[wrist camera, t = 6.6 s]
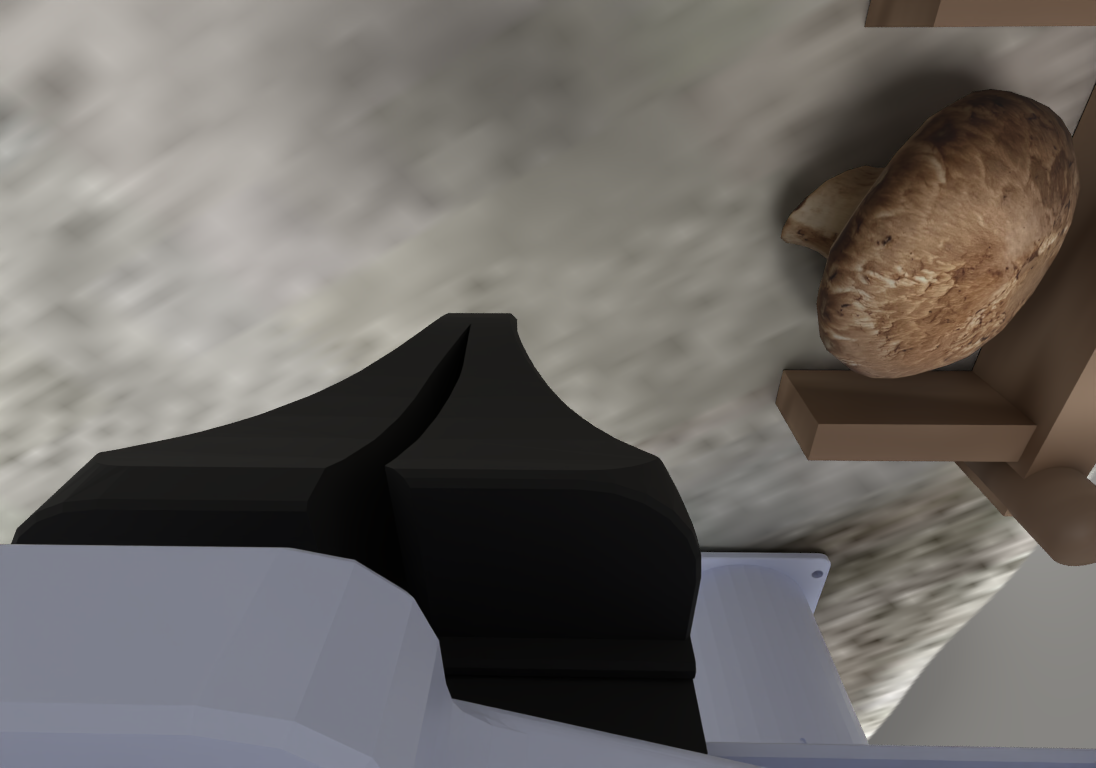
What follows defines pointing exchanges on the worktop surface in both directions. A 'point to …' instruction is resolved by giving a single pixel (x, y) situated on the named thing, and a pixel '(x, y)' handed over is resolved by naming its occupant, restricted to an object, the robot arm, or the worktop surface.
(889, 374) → the mushroom
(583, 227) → the worktop surface
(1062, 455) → the wooden crate
